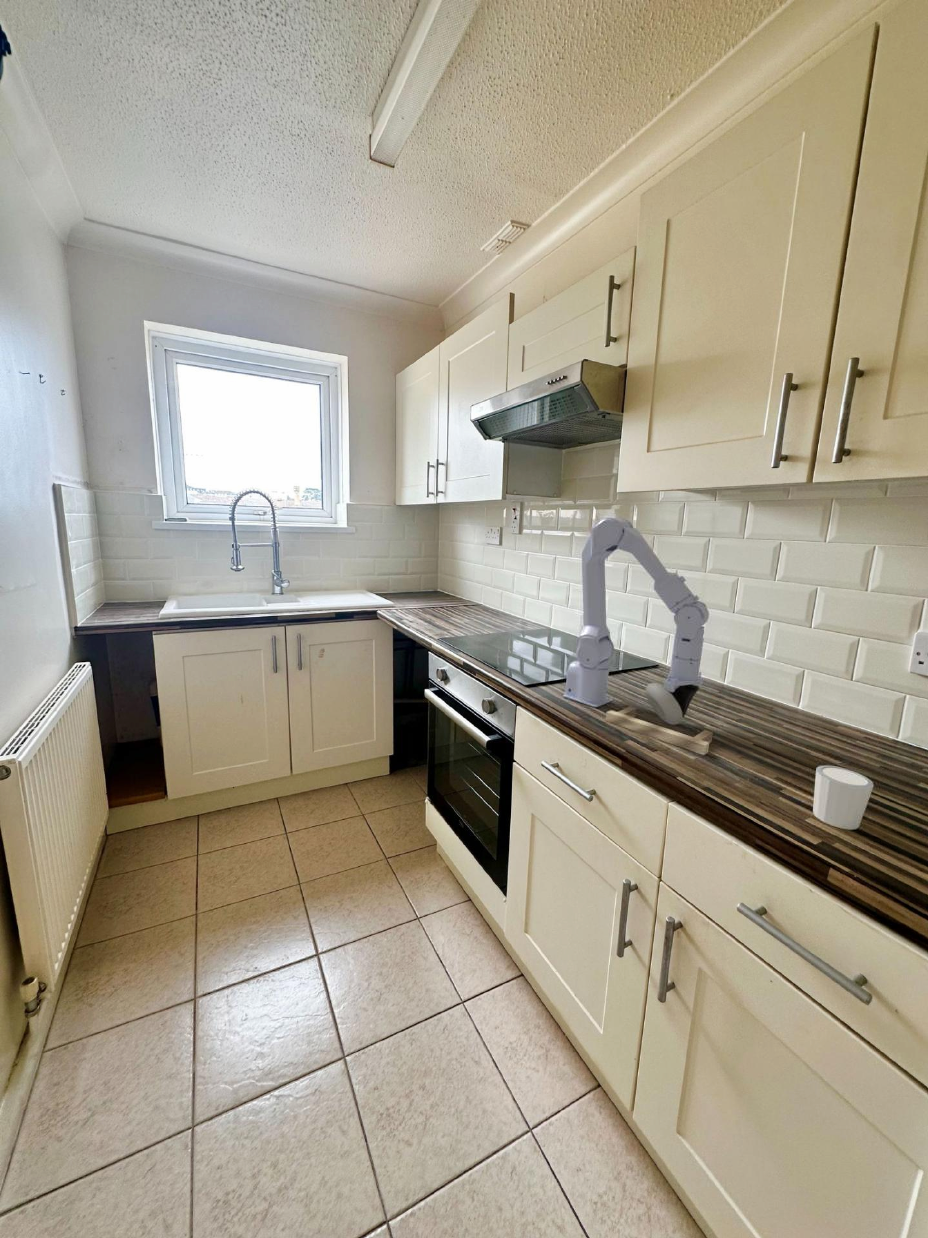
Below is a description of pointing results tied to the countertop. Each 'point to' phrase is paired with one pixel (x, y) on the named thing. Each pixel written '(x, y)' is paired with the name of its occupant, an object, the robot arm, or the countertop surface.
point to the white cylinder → (840, 796)
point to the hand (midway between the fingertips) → (678, 716)
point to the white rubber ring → (663, 703)
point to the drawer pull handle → (660, 731)
